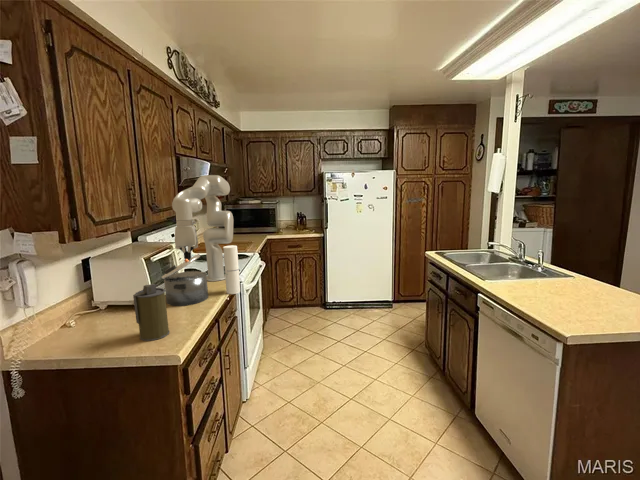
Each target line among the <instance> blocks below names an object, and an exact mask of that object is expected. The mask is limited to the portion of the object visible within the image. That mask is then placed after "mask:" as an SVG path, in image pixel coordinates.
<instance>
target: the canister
mask: <svg viewBox="0 0 640 480" xmlns="http://www.w3.org/2000/svg"><path fill="white" fill-rule="evenodd" d="M133 305H134V312H135V313H134V314H135V321H136V324H138V329H139V340H140V341H144V342H151V341H152V342H153V341H157V340H160V339H163V338H165V337H168V335H169V334H170V328H169V319H168V313H167V312H168V311H167V303H166V293H165V288H161V287H158V284H157V283H150V284H145V285H143V288H142V290H139V291H137V292H135V293H134V294H133Z"/></svg>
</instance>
